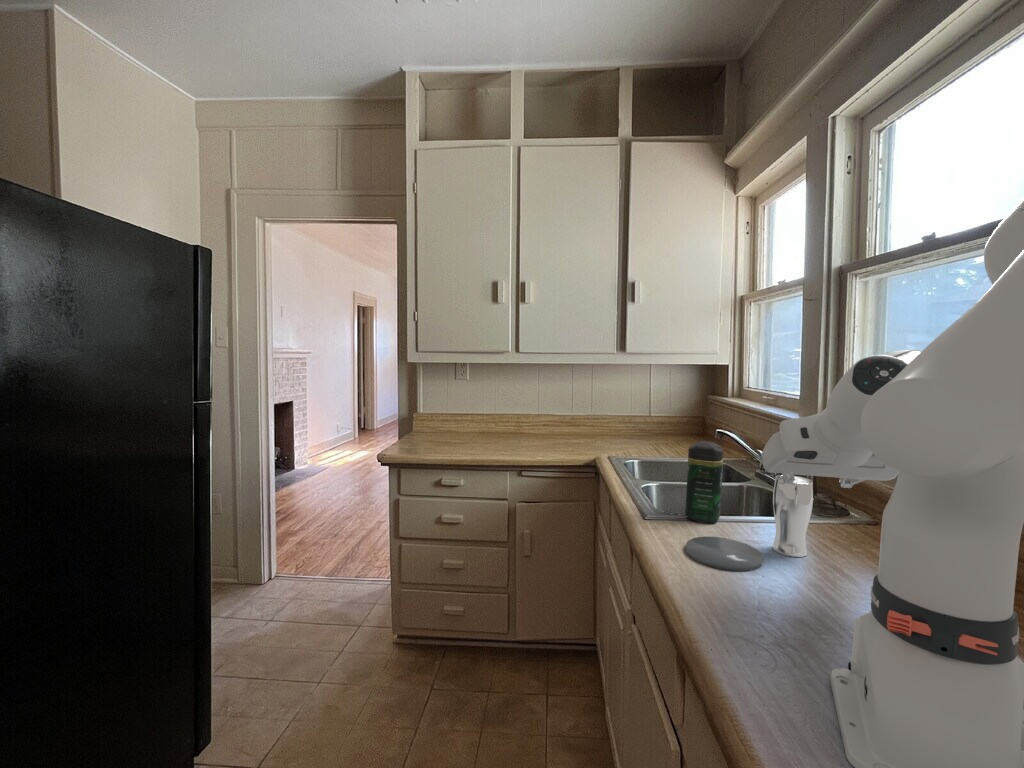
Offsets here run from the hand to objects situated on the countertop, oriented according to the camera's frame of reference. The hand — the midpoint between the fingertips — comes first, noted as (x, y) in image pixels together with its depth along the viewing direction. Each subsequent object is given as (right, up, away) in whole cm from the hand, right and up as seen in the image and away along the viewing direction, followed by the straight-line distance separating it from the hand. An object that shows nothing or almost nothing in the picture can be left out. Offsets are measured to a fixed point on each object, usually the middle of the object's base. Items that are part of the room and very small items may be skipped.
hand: (815, 482), depth 88 cm
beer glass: (+1, -17, +11) cm, 20 cm away
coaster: (-13, -16, +8) cm, 22 cm away
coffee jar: (-9, -15, +30) cm, 35 cm away
